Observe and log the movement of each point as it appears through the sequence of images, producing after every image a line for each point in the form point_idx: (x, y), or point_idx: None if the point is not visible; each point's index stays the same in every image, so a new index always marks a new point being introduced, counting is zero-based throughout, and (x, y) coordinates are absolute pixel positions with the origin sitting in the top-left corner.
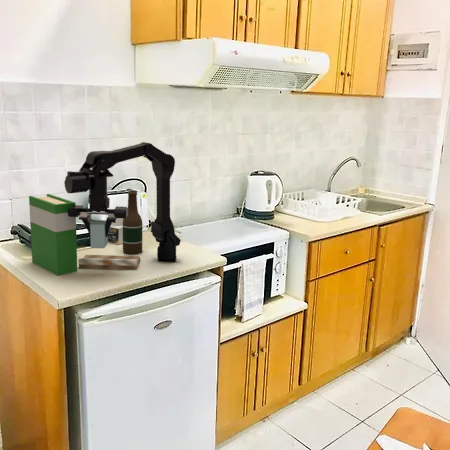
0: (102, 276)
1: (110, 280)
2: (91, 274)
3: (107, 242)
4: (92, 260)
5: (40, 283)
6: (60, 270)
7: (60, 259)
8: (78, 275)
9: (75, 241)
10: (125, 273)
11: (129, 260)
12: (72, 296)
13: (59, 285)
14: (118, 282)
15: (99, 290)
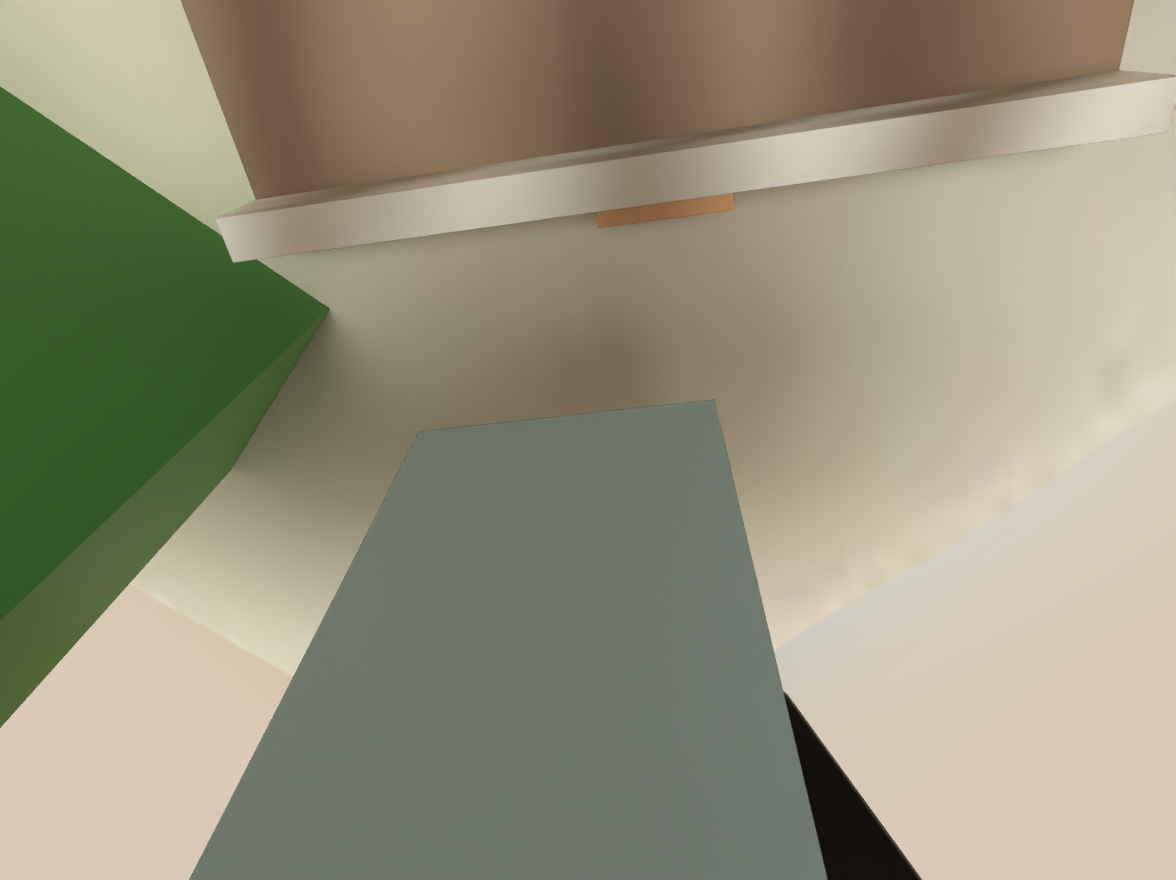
0: None
1: (768, 499)
2: (528, 383)
3: (718, 423)
4: (435, 228)
5: (228, 631)
6: (221, 475)
7: (149, 551)
8: (414, 432)
9: (79, 552)
10: (910, 281)
11: (1031, 148)
12: None
13: None
14: (854, 531)
15: None
